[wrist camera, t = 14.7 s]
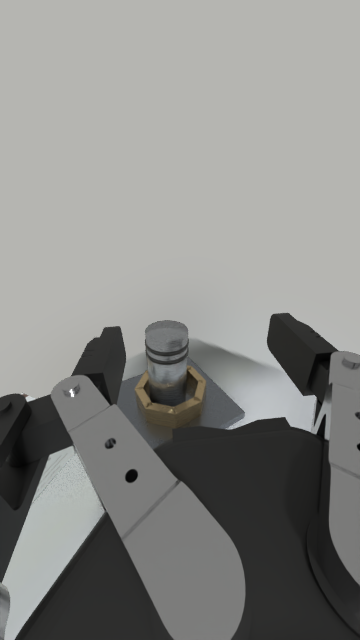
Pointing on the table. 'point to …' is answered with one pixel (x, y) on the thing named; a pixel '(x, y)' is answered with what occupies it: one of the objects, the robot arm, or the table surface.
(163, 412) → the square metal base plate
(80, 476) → the table surface
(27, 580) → the table surface
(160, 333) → the piston
